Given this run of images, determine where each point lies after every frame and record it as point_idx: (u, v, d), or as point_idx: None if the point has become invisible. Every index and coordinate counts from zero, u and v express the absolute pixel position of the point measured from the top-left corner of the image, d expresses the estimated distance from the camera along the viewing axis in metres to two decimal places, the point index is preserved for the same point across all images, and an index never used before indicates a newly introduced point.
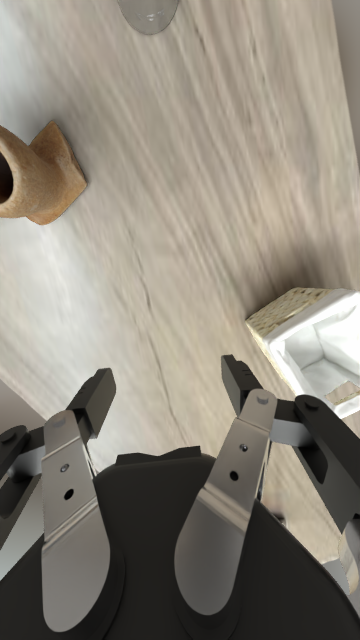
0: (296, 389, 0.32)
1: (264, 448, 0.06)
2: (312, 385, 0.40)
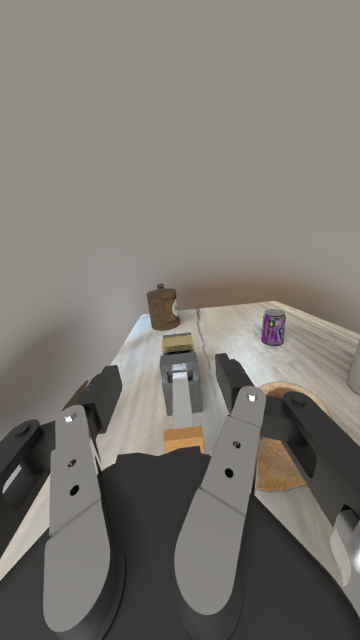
0: None
1: (256, 443, 0.06)
2: None
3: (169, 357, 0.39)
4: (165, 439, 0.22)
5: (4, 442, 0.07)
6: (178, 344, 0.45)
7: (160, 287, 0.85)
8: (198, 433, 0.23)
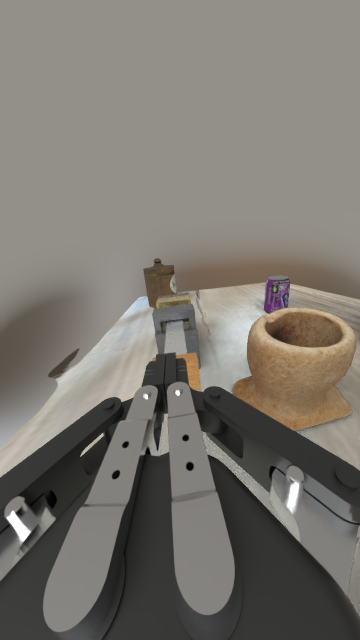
0: None
1: (199, 426, 0.07)
2: None
3: (163, 308, 0.36)
4: None
5: (95, 409, 0.08)
6: (174, 300, 0.41)
7: (157, 262, 0.81)
8: (192, 357, 0.19)
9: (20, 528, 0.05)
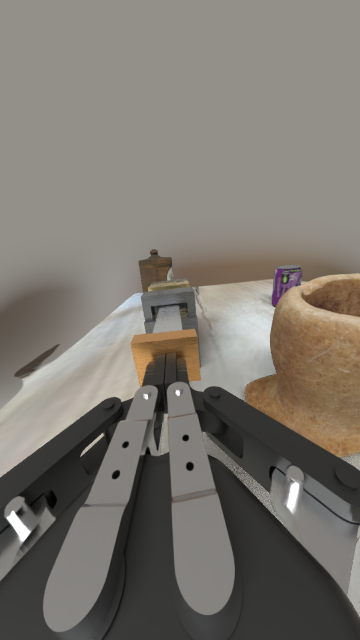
0: None
1: (199, 426, 0.07)
2: None
3: (155, 291, 0.29)
4: (133, 342, 0.13)
5: (95, 409, 0.08)
6: (169, 285, 0.34)
7: (153, 253, 0.75)
8: (190, 334, 0.13)
9: (20, 528, 0.05)
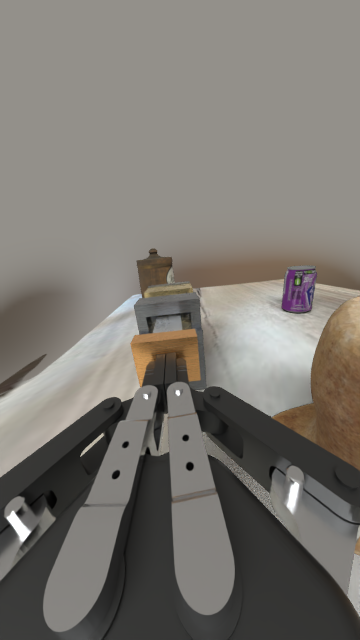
0: None
1: (199, 426, 0.07)
2: None
3: (152, 298, 0.24)
4: (133, 342, 0.13)
5: (95, 409, 0.08)
6: (169, 289, 0.29)
7: (153, 252, 0.70)
8: (190, 334, 0.13)
9: (20, 528, 0.05)
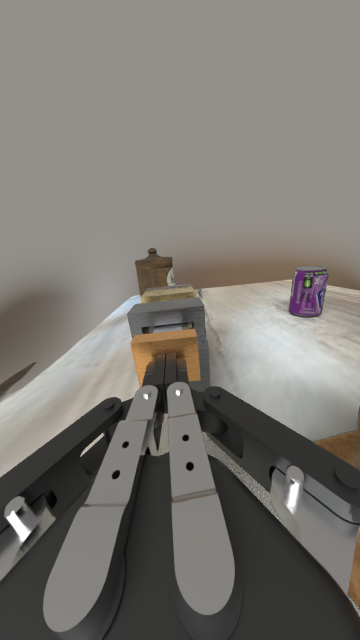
0: None
1: (199, 426, 0.07)
2: None
3: (149, 304, 0.21)
4: (133, 342, 0.13)
5: (95, 409, 0.08)
6: (169, 293, 0.26)
7: (152, 252, 0.67)
8: (190, 334, 0.13)
9: (20, 528, 0.05)
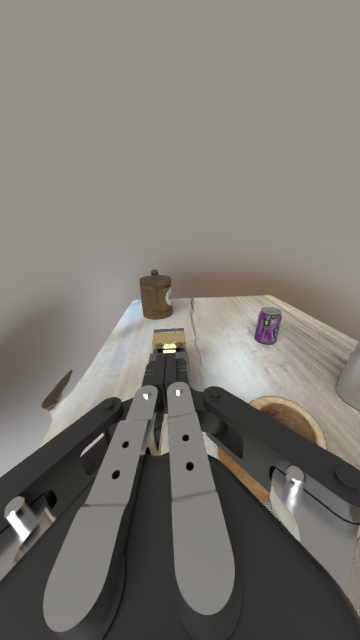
0: None
1: (199, 426, 0.07)
2: None
3: None
4: None
5: (95, 409, 0.08)
6: (169, 341, 0.42)
7: (154, 273, 0.80)
8: None
9: (21, 528, 0.05)
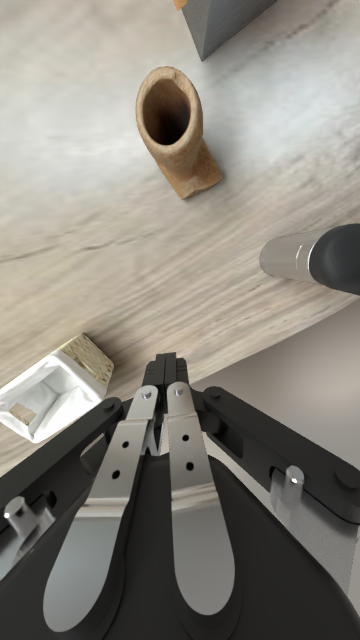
0: (14, 381, 0.38)
1: (199, 426, 0.07)
2: (27, 392, 0.47)
3: None
4: None
5: (95, 409, 0.08)
6: None
7: None
8: None
9: (20, 528, 0.05)
